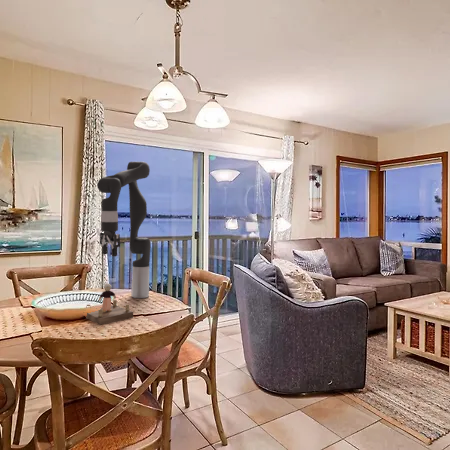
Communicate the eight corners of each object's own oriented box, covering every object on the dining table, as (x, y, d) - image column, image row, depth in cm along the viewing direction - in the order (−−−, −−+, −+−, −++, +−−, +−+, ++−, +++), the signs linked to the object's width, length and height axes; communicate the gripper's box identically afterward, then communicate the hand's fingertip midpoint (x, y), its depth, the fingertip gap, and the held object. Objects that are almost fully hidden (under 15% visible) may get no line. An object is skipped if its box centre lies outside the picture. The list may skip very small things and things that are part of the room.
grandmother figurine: (101, 313, 157) (101, 284, 156) (97, 311, 159) (97, 283, 159) (117, 310, 162) (117, 282, 162) (113, 308, 165) (113, 281, 165)
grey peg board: (82, 316, 160) (82, 304, 160) (114, 310, 172) (115, 298, 172) (99, 324, 149) (100, 311, 149) (133, 317, 161) (133, 305, 161)
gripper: (125, 221, 164) (124, 256, 165) (109, 219, 174) (109, 252, 175) (110, 221, 159) (110, 257, 160) (94, 220, 168) (94, 254, 169)
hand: (109, 255), depth 167 cm, fingers open, 8 cm apart
